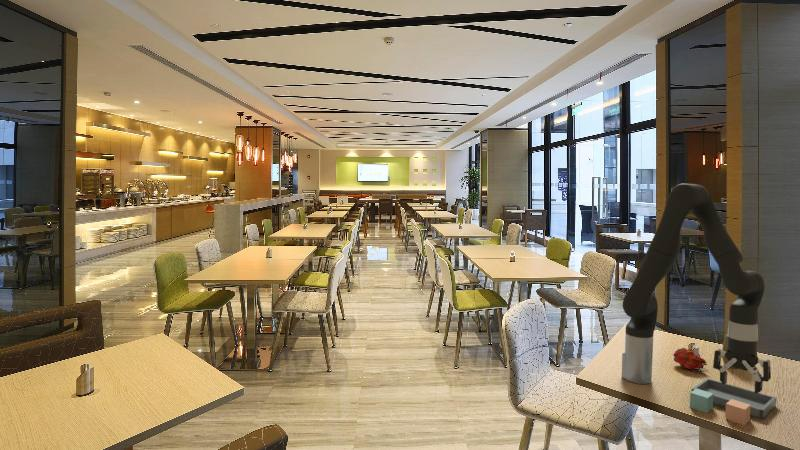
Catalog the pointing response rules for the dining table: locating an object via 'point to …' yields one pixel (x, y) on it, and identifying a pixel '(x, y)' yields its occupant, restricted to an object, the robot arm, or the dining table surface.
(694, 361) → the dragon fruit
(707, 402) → the teal block
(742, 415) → the terracotta block
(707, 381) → the tray
